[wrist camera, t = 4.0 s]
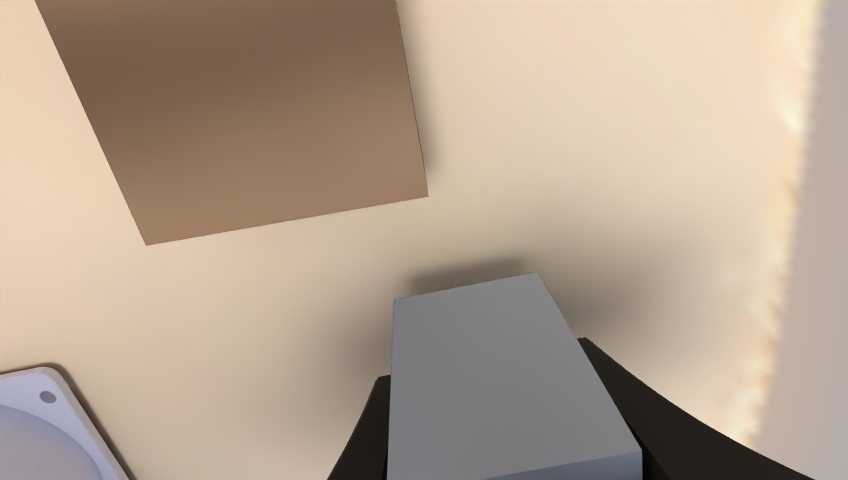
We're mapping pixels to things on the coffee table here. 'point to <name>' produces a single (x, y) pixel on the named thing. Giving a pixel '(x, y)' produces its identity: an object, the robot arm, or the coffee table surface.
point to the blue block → (499, 391)
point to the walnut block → (243, 107)
